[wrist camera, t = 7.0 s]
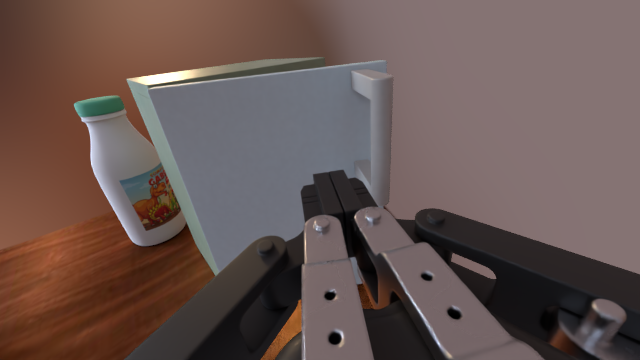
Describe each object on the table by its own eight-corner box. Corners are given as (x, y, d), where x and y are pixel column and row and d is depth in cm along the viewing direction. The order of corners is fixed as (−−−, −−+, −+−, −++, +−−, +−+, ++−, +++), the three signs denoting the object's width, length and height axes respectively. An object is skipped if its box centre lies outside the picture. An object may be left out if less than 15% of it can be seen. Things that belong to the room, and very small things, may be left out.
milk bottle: (130, 255, 36) (43, 110, 26) (134, 226, 42) (65, 100, 32) (189, 234, 39) (131, 96, 29) (185, 210, 45) (136, 90, 36)
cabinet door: (401, 324, 24) (423, 66, 13) (223, 360, 22) (97, 105, 12) (378, 272, 29) (382, 60, 19) (233, 299, 28) (152, 87, 18)
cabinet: (338, 229, 36) (324, 57, 26) (230, 300, 28) (146, 85, 18) (290, 199, 45) (265, 59, 34) (196, 245, 36) (126, 79, 26)
